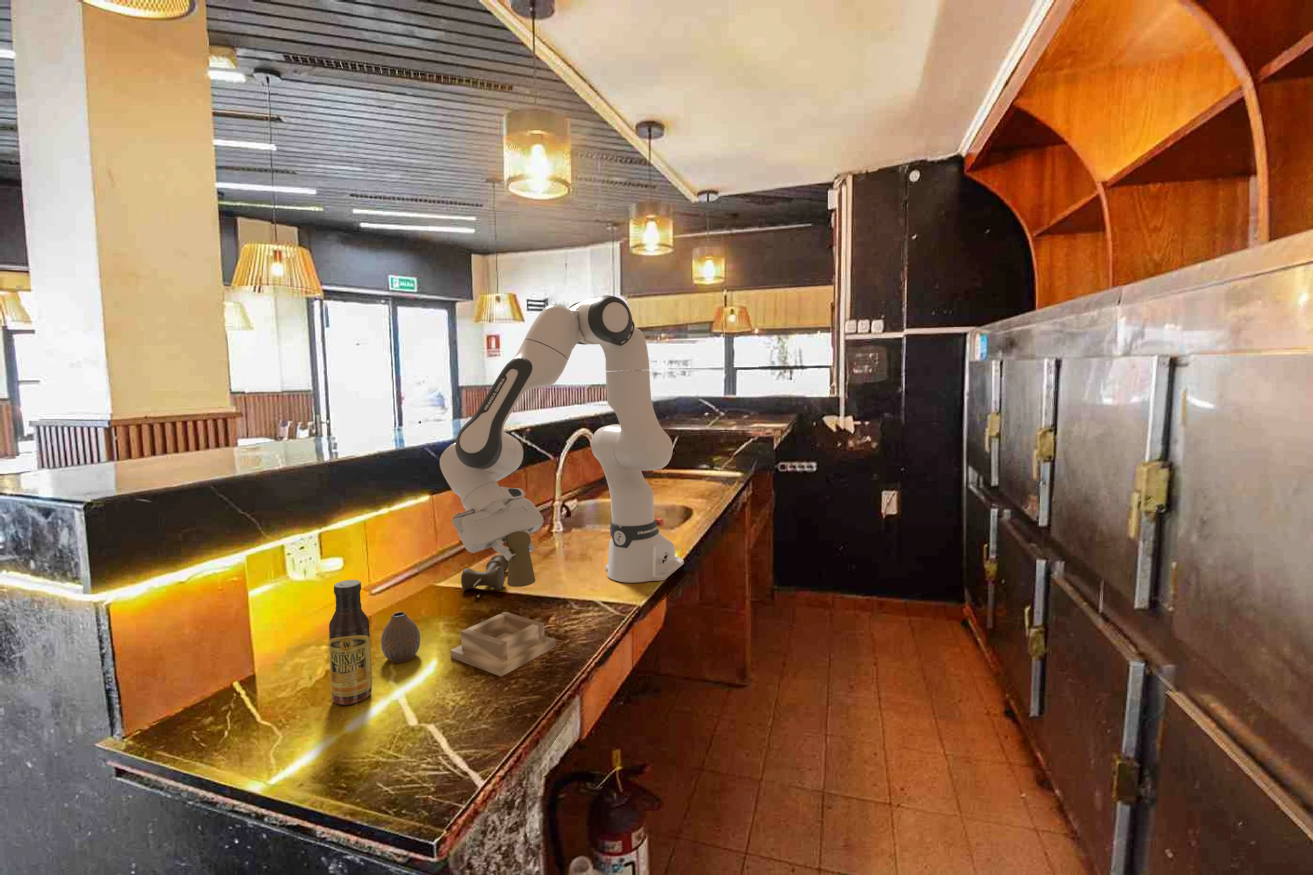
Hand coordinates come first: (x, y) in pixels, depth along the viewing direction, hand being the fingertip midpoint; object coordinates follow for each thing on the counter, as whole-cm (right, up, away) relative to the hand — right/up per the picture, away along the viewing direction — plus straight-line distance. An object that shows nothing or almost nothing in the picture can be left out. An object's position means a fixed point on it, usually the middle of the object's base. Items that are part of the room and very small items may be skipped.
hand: (521, 554), depth 135 cm
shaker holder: (0, -16, -14) cm, 21 cm away
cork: (0, -6, +1) cm, 6 cm away
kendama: (-14, -13, +25) cm, 31 cm away
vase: (-20, -17, -15) cm, 30 cm away
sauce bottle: (-22, -19, -29) cm, 41 cm away
